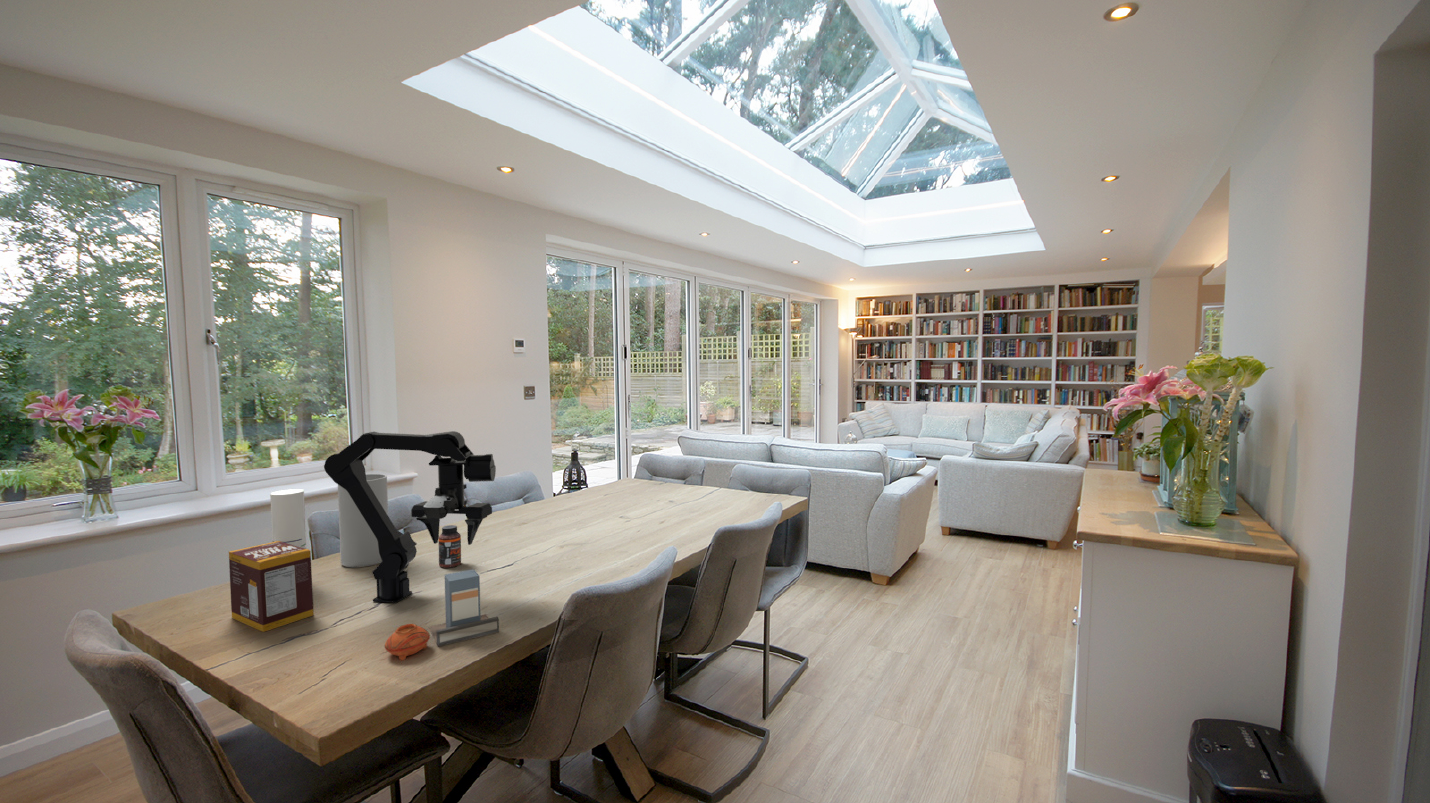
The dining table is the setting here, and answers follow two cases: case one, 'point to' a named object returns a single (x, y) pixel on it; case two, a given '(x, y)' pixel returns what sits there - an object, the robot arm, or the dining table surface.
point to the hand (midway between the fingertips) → (452, 543)
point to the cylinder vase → (359, 526)
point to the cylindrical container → (288, 517)
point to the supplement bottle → (449, 547)
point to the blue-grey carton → (462, 598)
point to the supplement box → (271, 585)
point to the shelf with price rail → (464, 630)
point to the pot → (407, 640)
